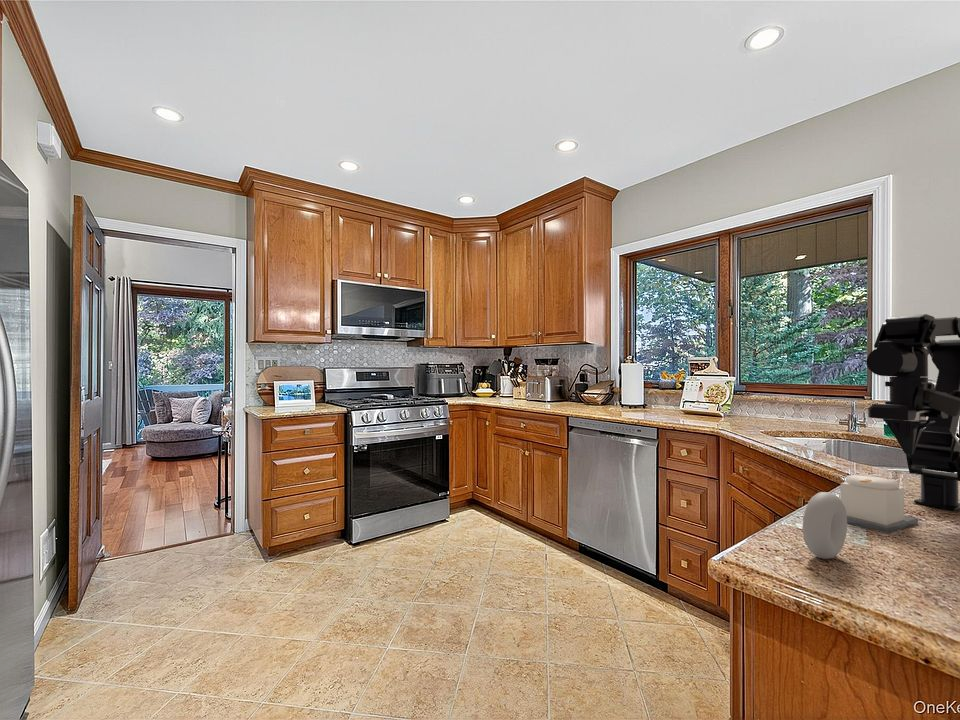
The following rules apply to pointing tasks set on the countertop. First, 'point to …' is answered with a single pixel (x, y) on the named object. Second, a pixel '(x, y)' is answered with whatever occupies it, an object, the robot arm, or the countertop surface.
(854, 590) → the countertop surface
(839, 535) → the donut
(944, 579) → the countertop surface
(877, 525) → the plate
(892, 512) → the knob
